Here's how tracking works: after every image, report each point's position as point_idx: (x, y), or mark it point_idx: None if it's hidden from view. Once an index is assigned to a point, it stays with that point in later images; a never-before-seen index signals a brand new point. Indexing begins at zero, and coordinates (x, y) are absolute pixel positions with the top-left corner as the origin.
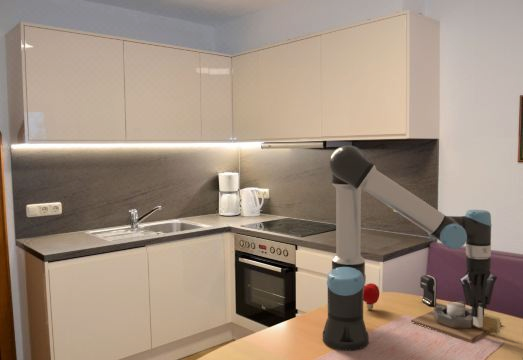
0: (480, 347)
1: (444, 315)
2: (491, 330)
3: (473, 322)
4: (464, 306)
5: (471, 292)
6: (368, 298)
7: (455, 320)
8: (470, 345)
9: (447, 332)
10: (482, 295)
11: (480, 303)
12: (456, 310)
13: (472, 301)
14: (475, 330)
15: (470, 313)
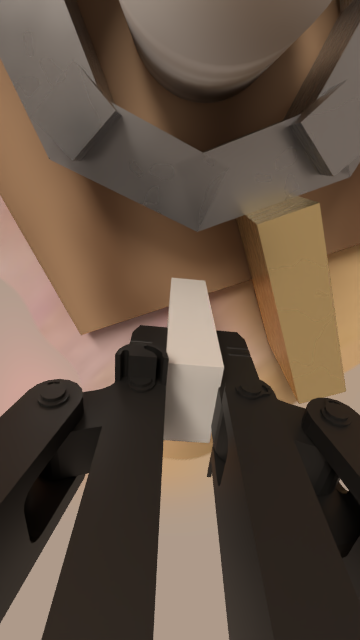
0: (97, 380)
1: (12, 6)
2: (264, 320)
3: (171, 286)
4: (294, 31)
5: (53, 621)
6: None
7: (72, 168)
8: (63, 351)
9: (2, 195)
10: (232, 629)
11: (226, 442)
12: (150, 43)
13: (43, 522)
14: (205, 247)
15: (295, 127)
